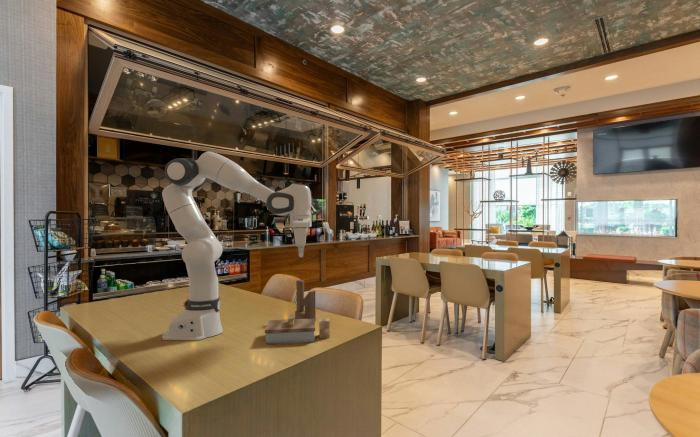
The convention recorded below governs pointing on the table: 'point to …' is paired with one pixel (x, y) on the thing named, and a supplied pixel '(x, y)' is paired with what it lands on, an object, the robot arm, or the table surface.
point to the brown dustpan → (304, 302)
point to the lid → (290, 325)
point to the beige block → (324, 328)
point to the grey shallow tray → (289, 337)
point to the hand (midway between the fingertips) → (301, 256)
